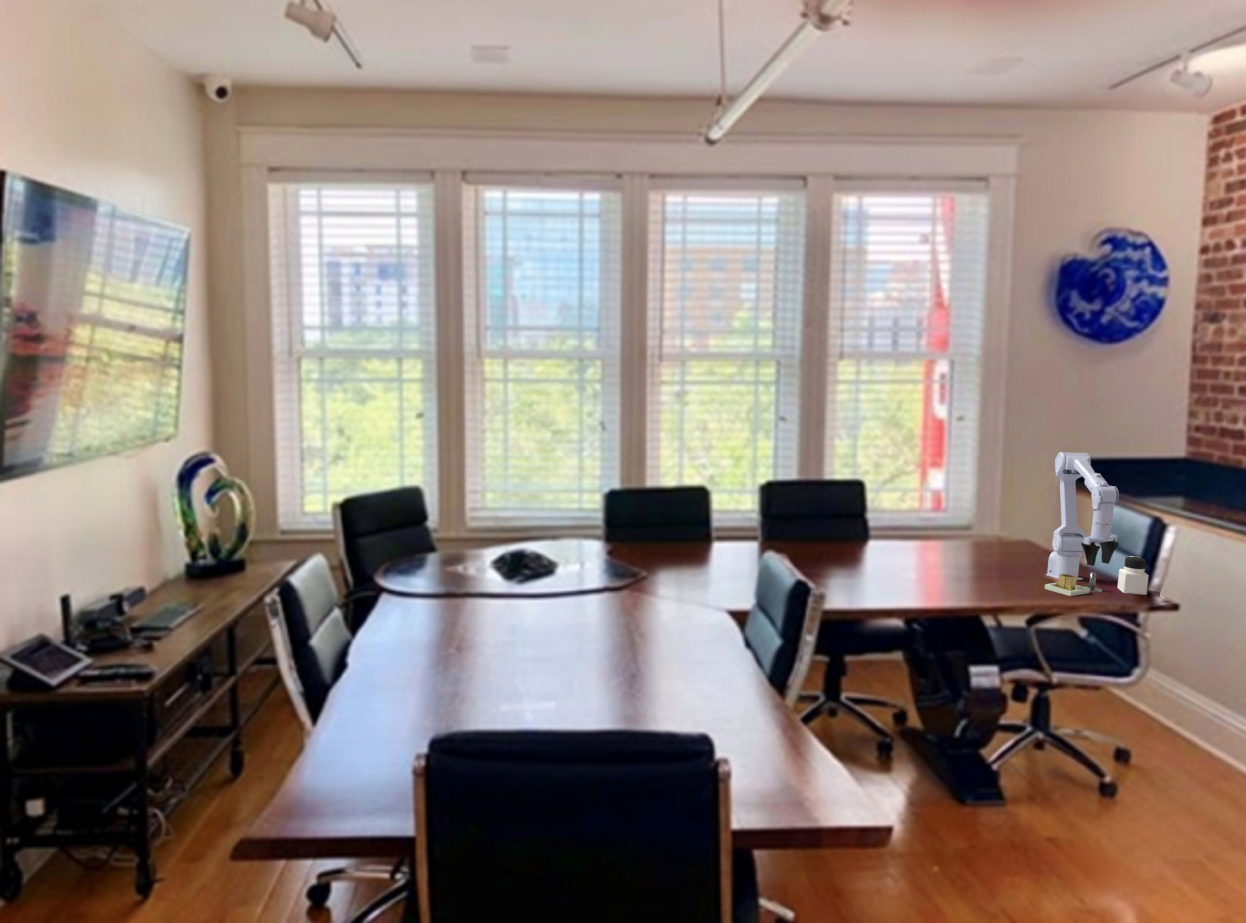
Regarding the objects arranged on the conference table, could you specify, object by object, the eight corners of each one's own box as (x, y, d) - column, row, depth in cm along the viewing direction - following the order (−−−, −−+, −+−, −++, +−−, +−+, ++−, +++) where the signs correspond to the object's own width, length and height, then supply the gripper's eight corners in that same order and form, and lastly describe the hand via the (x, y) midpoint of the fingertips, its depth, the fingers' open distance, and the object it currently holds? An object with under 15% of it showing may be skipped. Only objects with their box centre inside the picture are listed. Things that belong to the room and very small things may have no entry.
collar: (1068, 593, 315) (1069, 578, 314) (1051, 588, 320) (1053, 573, 319) (1078, 591, 317) (1079, 576, 316) (1061, 587, 322) (1063, 572, 322)
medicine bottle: (1146, 596, 316) (1150, 560, 314) (1123, 594, 318) (1127, 559, 316) (1139, 590, 323) (1143, 555, 321) (1117, 589, 324) (1120, 554, 323)
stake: (1076, 589, 322) (1078, 571, 321) (1089, 587, 325) (1090, 570, 324) (1094, 594, 317) (1096, 576, 316) (1106, 592, 320) (1108, 574, 319)
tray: (1044, 590, 320) (1045, 584, 319) (1063, 587, 324) (1063, 581, 324) (1070, 597, 311) (1070, 591, 311) (1089, 594, 316) (1089, 588, 316)
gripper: (1099, 527, 305) (1095, 569, 307) (1127, 523, 312) (1123, 564, 314) (1079, 522, 311) (1075, 564, 313) (1107, 519, 318) (1103, 560, 320)
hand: (1098, 564), depth 314 cm, fingers open, 7 cm apart
